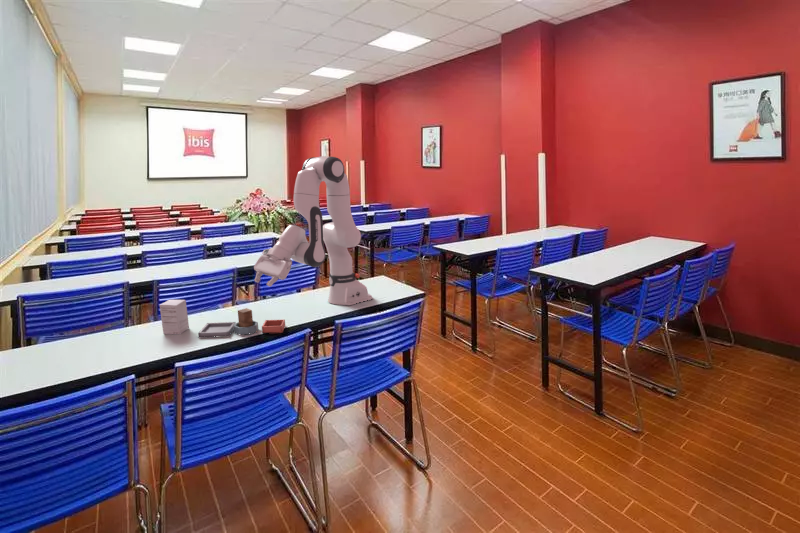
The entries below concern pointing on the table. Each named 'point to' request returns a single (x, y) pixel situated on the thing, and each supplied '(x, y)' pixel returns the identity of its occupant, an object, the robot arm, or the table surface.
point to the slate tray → (217, 329)
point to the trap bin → (273, 326)
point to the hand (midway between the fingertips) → (262, 283)
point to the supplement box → (174, 316)
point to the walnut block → (245, 318)
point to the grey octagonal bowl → (246, 328)
